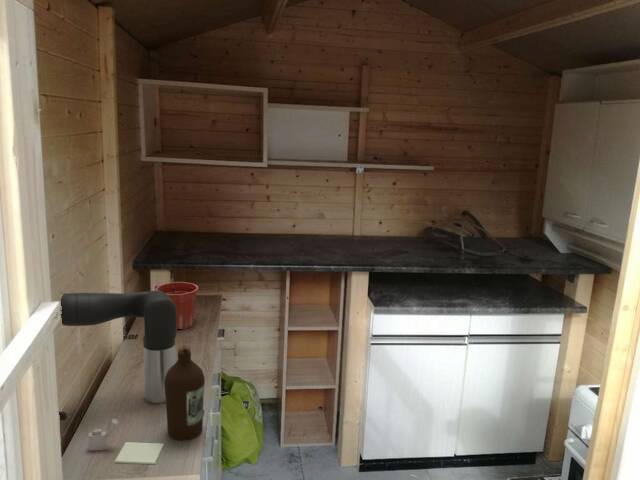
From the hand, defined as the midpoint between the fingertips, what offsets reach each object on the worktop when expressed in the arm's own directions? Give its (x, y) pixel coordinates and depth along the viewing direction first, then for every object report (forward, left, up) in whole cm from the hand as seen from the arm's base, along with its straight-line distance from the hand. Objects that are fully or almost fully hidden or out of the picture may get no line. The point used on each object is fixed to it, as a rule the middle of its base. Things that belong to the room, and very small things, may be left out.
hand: (58, 425), depth 139 cm
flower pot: (-84, +10, -6) cm, 85 cm away
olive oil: (-9, +30, -6) cm, 32 cm away
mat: (+2, +22, -6) cm, 22 cm away
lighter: (0, +12, -6) cm, 13 cm away
